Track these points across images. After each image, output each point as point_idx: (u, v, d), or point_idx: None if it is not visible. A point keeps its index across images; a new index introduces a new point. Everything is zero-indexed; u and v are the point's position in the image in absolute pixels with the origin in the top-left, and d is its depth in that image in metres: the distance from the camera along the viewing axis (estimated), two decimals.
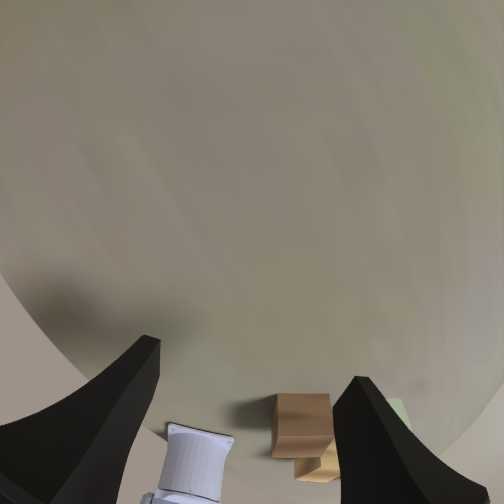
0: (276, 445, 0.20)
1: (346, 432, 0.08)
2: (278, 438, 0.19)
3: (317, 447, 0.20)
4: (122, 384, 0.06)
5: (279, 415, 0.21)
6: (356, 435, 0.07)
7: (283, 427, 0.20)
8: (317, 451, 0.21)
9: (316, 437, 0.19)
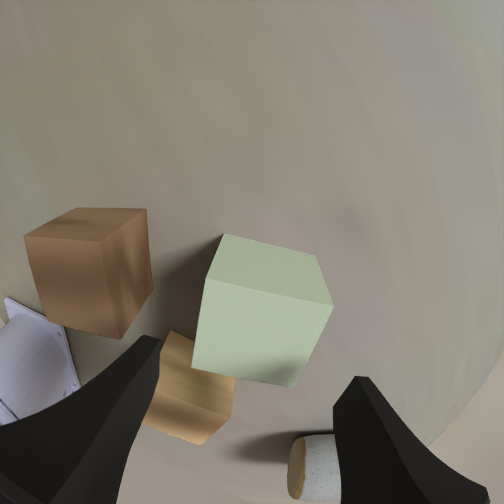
0: (33, 273, 0.11)
1: (346, 432, 0.08)
2: (26, 246, 0.10)
3: (90, 292, 0.11)
4: (122, 384, 0.06)
5: (52, 221, 0.12)
6: (356, 435, 0.07)
7: (40, 230, 0.11)
8: (101, 313, 0.11)
9: (72, 247, 0.10)
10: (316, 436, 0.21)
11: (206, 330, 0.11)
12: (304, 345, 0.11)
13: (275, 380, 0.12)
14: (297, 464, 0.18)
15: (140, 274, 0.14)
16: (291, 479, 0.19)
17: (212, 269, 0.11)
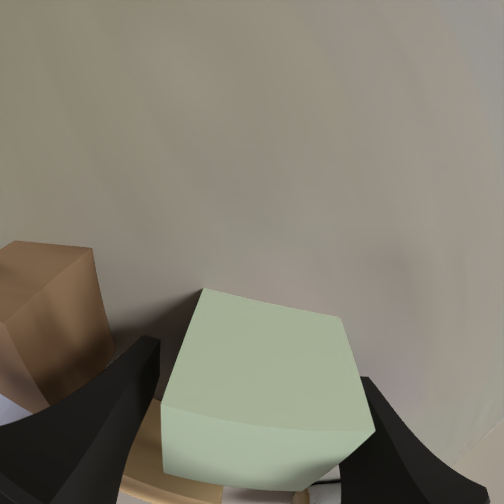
0: None
1: None
2: None
3: (18, 378, 0.06)
4: (122, 384, 0.06)
5: None
6: None
7: None
8: (38, 403, 0.06)
9: None
10: (322, 488, 0.16)
11: (175, 451, 0.06)
12: (322, 465, 0.06)
13: (277, 488, 0.07)
14: None
15: (90, 340, 0.09)
16: None
17: (174, 380, 0.06)
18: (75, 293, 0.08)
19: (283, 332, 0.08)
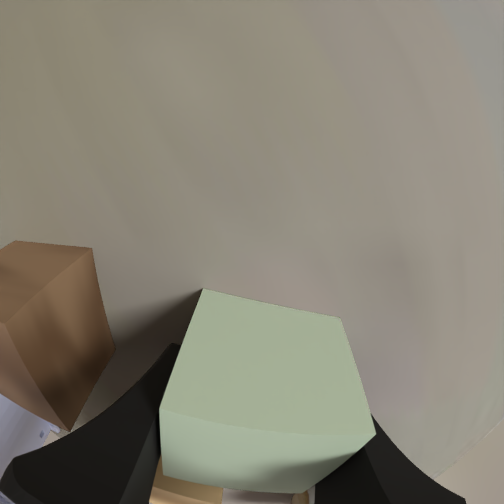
0: None
1: None
2: None
3: (19, 379, 0.06)
4: (158, 396, 0.06)
5: None
6: None
7: None
8: (38, 402, 0.06)
9: None
10: None
11: (175, 454, 0.06)
12: (322, 468, 0.06)
13: (278, 490, 0.07)
14: None
15: (90, 340, 0.09)
16: None
17: (173, 383, 0.06)
18: (75, 293, 0.08)
19: (283, 334, 0.08)
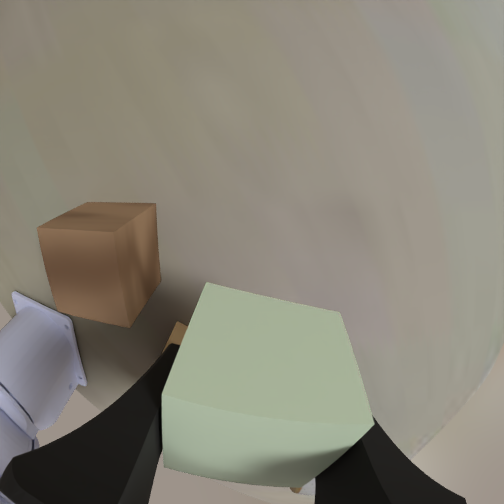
0: (45, 264, 0.11)
1: None
2: (40, 237, 0.11)
3: (102, 282, 0.12)
4: (158, 396, 0.06)
5: (64, 214, 0.13)
6: None
7: (53, 222, 0.11)
8: (112, 302, 0.12)
9: (85, 237, 0.11)
10: None
11: (175, 443, 0.06)
12: (321, 460, 0.06)
13: (277, 484, 0.07)
14: None
15: (149, 266, 0.15)
16: None
17: (176, 371, 0.06)
18: (146, 229, 0.14)
19: (284, 326, 0.08)
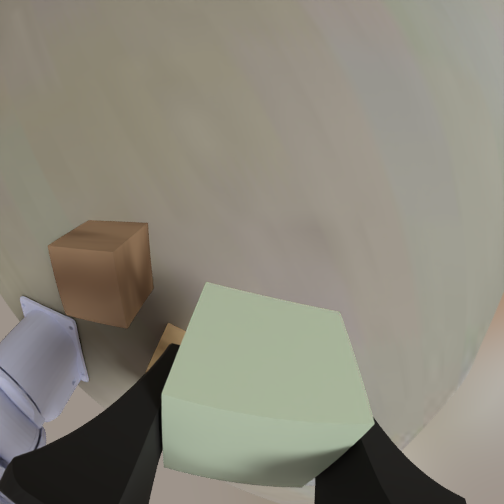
0: (55, 275, 0.14)
1: None
2: (50, 253, 0.13)
3: (104, 291, 0.14)
4: (158, 396, 0.06)
5: (69, 233, 0.15)
6: None
7: (61, 240, 0.14)
8: (112, 307, 0.14)
9: (90, 255, 0.13)
10: None
11: (175, 443, 0.06)
12: (321, 460, 0.06)
13: (277, 484, 0.07)
14: None
15: (143, 276, 0.17)
16: None
17: (175, 370, 0.06)
18: (139, 246, 0.17)
19: (284, 326, 0.08)
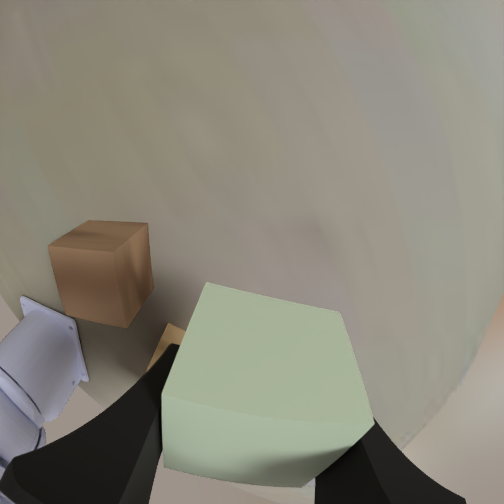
0: (55, 275, 0.14)
1: None
2: (50, 253, 0.13)
3: (104, 291, 0.14)
4: (158, 396, 0.06)
5: (69, 233, 0.15)
6: None
7: (61, 240, 0.14)
8: (112, 307, 0.14)
9: (90, 255, 0.13)
10: None
11: (175, 443, 0.06)
12: (321, 460, 0.06)
13: (277, 484, 0.07)
14: None
15: (143, 276, 0.17)
16: None
17: (175, 370, 0.06)
18: (139, 246, 0.17)
19: (284, 326, 0.08)
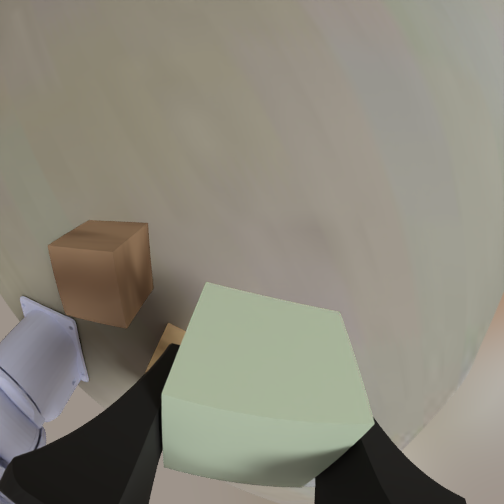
0: (55, 275, 0.14)
1: None
2: (50, 253, 0.13)
3: (104, 291, 0.14)
4: (158, 396, 0.06)
5: (69, 233, 0.15)
6: None
7: (61, 240, 0.14)
8: (112, 307, 0.14)
9: (89, 255, 0.13)
10: None
11: (175, 443, 0.06)
12: (321, 460, 0.06)
13: (277, 484, 0.07)
14: None
15: (143, 276, 0.17)
16: None
17: (175, 370, 0.06)
18: (139, 246, 0.17)
19: (284, 326, 0.08)
